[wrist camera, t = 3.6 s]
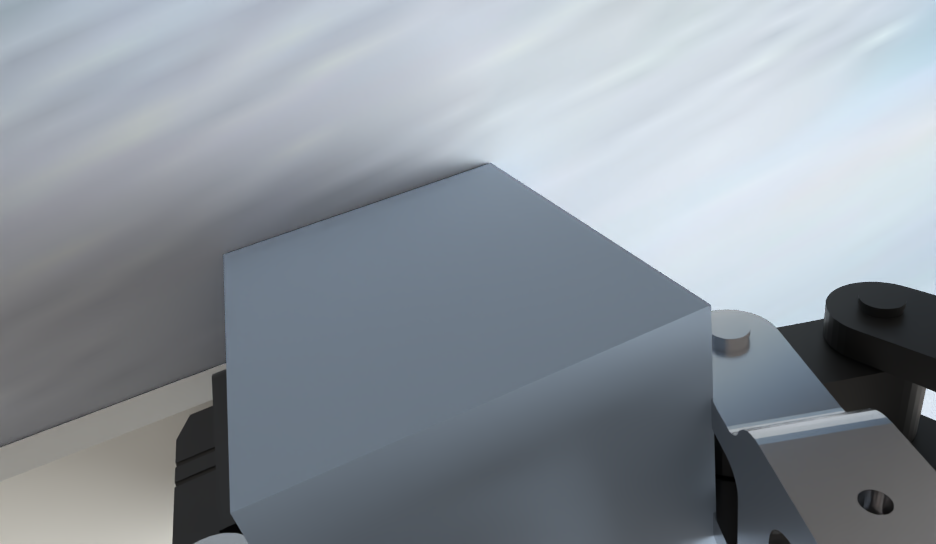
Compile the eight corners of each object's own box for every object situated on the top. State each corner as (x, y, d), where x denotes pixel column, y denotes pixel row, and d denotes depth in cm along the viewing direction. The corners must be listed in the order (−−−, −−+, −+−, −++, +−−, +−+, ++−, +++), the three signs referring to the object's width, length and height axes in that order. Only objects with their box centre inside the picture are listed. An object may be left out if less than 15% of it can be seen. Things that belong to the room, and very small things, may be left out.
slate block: (491, 163, 11) (710, 304, 6) (533, 369, 14) (718, 593, 9) (223, 254, 10) (230, 513, 5) (320, 461, 13) (389, 776, 8)
